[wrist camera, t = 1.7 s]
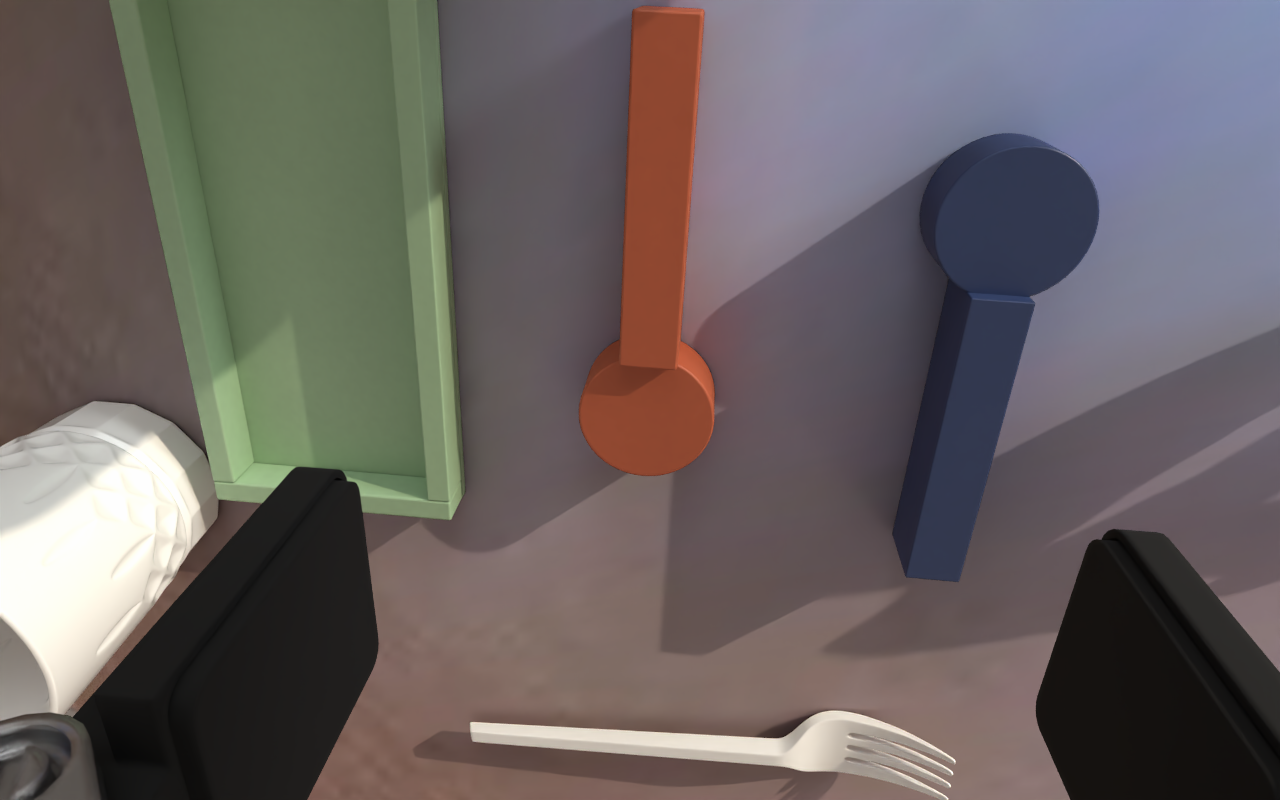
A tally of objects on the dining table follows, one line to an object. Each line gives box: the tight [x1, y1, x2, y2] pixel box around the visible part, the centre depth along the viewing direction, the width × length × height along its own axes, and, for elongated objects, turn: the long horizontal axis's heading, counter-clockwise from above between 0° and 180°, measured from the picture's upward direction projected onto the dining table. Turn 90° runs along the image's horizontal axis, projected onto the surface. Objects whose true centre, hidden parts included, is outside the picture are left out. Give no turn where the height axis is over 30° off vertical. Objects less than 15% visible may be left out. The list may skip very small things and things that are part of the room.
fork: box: [470, 711, 956, 800], centre depth 35 cm, size 3×20×2 cm, turn 92°
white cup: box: [0, 401, 219, 721], centre depth 28 cm, size 8×8×10 cm
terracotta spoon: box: [579, 6, 715, 476], centre depth 26 cm, size 14×4×2 cm, turn 177°
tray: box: [109, 0, 465, 520], centre depth 26 cm, size 22×9×2 cm, turn 177°
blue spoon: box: [893, 134, 1099, 582], centre depth 26 cm, size 14×4×2 cm, turn 177°
